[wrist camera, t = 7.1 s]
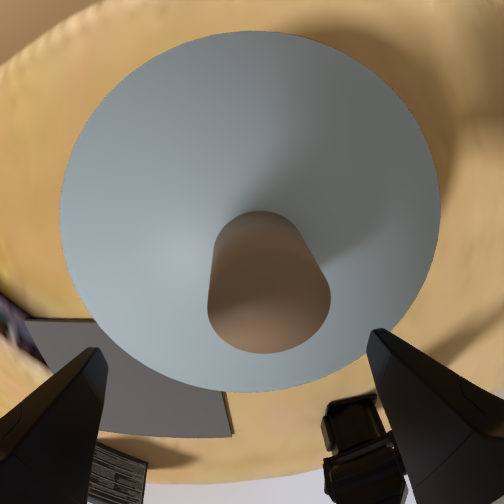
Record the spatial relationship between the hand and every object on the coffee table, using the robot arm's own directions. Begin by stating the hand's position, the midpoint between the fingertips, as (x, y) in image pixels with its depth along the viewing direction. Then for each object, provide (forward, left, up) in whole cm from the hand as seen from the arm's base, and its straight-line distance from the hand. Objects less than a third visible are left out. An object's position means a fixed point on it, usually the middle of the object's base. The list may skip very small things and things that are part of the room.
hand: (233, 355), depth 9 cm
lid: (-1, -1, -6) cm, 6 cm away
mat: (+13, +18, -13) cm, 26 cm away
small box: (+24, +38, -13) cm, 47 cm away
